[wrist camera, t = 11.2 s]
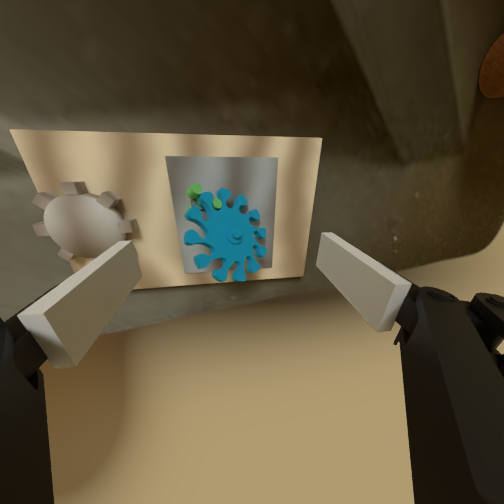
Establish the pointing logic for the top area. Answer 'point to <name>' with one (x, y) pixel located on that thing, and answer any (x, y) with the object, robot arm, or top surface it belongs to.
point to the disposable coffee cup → (493, 71)
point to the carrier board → (169, 196)
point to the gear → (224, 232)
